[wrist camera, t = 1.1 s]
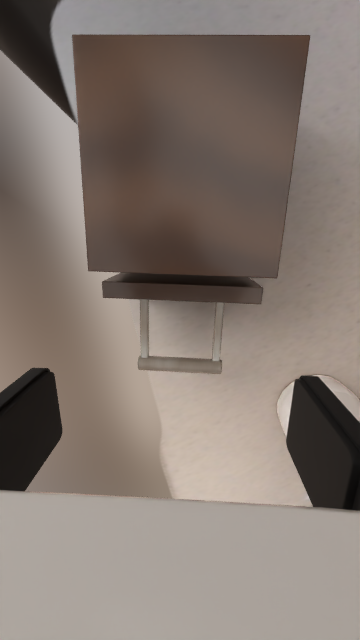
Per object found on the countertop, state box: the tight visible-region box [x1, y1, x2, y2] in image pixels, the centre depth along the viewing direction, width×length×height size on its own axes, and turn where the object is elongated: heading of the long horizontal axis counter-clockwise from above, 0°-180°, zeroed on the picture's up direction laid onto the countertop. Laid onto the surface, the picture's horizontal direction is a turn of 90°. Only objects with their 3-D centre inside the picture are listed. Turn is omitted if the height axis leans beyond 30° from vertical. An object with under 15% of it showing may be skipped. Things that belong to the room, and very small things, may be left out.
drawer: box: [102, 272, 263, 374], centre depth 22 cm, size 18×11×6 cm, turn 178°
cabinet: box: [72, 35, 310, 278], centre depth 20 cm, size 13×13×8 cm
